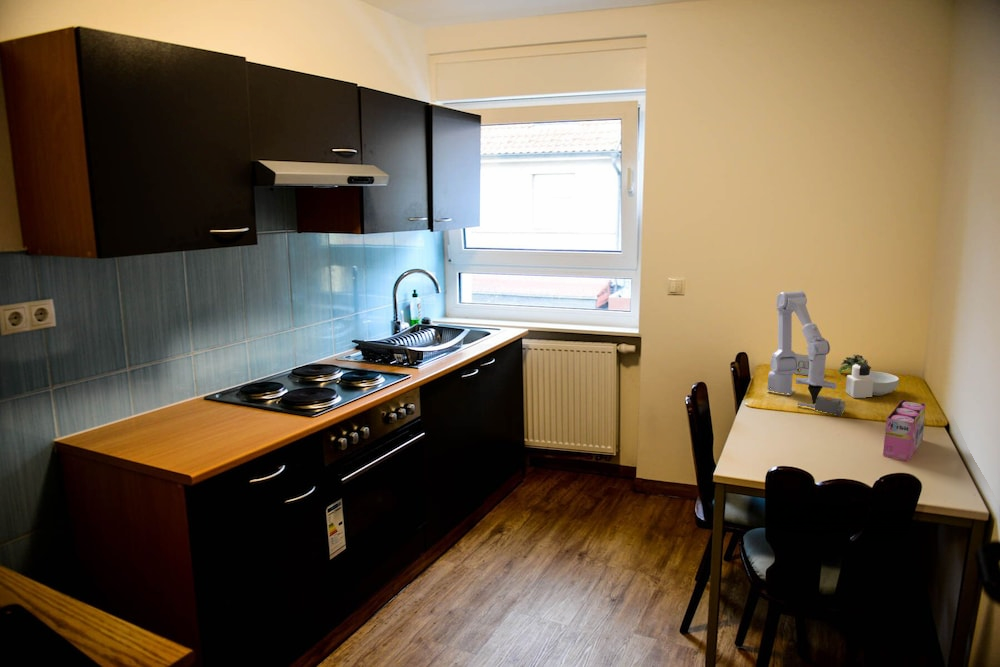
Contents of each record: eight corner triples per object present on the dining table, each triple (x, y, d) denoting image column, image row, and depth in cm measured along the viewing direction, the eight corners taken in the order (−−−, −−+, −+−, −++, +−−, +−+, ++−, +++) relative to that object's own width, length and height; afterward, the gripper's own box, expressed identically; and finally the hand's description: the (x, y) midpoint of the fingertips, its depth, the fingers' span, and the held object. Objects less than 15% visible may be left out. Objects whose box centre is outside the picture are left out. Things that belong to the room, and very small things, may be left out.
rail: (795, 409, 284) (796, 399, 283) (800, 404, 289) (800, 394, 288) (840, 416, 274) (841, 406, 273) (844, 411, 280) (845, 401, 279)
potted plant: (855, 384, 328) (874, 364, 324) (855, 386, 318) (874, 366, 315) (834, 368, 332) (852, 348, 328) (833, 370, 322) (852, 350, 318)
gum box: (898, 434, 255) (902, 398, 252) (923, 439, 250) (928, 402, 247) (882, 456, 238) (885, 417, 235) (908, 461, 233) (913, 422, 230)
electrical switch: (792, 373, 329) (794, 354, 327) (795, 372, 333) (797, 352, 331) (813, 377, 323) (815, 356, 322) (816, 375, 327) (818, 355, 326)
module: (814, 411, 280) (815, 397, 279) (818, 407, 284) (819, 394, 283) (836, 414, 276) (838, 400, 274) (839, 411, 280) (840, 397, 278)
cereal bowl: (873, 384, 310) (875, 368, 308) (906, 395, 295) (908, 379, 293) (843, 389, 304) (844, 374, 303) (875, 401, 289) (877, 384, 287)
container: (864, 392, 300) (866, 362, 297) (872, 398, 293) (875, 367, 290) (845, 392, 301) (847, 362, 298) (852, 398, 293) (855, 367, 290)
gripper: (794, 370, 280) (792, 403, 283) (834, 375, 272) (831, 409, 275) (799, 365, 286) (797, 398, 289) (838, 371, 277) (835, 404, 280)
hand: (814, 403), depth 282 cm, fingers closed
